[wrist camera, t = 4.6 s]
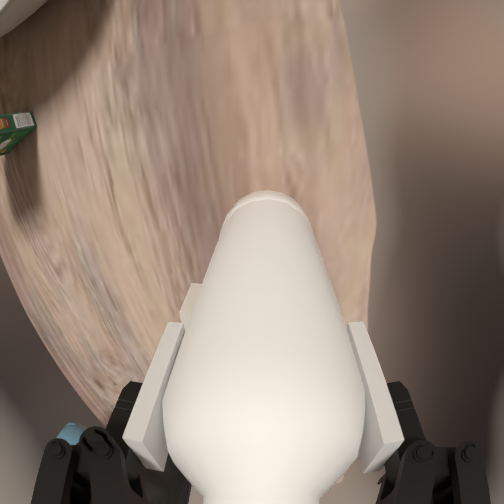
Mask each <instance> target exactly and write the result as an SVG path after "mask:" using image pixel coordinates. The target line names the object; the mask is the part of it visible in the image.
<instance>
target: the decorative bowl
mask: <svg viewBox="0 0 504 504" xmlns="http://www.w3.org/2000/svg"><path fill="white" fill-rule="evenodd" d="M48 1H49V0H0V37H2V36H3V35H5V34H7V33H8V32H10V31H11V30H13V29H14V28H15V27H17V26H18V25H19V24H21V23H22V22H23V21H25V20H26V19H27V18H28V17H30V16H31V15H32V14H33V13H34V12H35V11H36V10H37V9H39V8H40V7H41V6H42V5H44V4H45V3H46V2H48Z"/></svg>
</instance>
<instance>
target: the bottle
mask: <svg viewBox="0 0 504 504" xmlns="http://www.w3.org/2000/svg"><path fill="white" fill-rule="evenodd" d="M162 409H163V424H164V431H165V437H166V444H167V450H168V452H169V455H170V457H171V459H172V461H173V463H174V464H175V465H176V466H177V468H178V469H179V470H180V471H181V473H182V474H183V475H184V476H185V477H186V479H187V480H188V481H189V482H190V483H191V484H192V485H193V487H194V488H195V489H196V490H197V491H198V492H199V493H200V494H201V496H202V497H203V498H204V499H203V504H320V503H319V499H320V498H321V497H322V496H323V495H324V494H325V493H326V492H327V491H328V490H329V489H330V488H331V487H332V486H333V484H335V483H336V481H337V480H338V479H339V478H340V477H341V476H342V475H343V474H344V473H345V472H346V470H347V469H348V468H349V467H350V466H351V464H352V463H353V462H354V461H355V459H356V458H357V456H358V452H359V448H360V444H361V439H362V434H363V429H364V421H365V411H366V403H365V391H364V386H363V382H362V379H361V375H360V372H359V369H358V365H357V362H356V358H355V355H354V352H353V348H352V345H351V342H350V339H349V336H348V332H347V329H346V326H345V323H344V320H343V317H342V314H341V311H340V308H339V305H338V302H337V299H336V296H335V293H334V290H333V287H332V284H331V281H330V278H329V276H328V273H327V270H326V267H325V264H324V262H323V259H322V256H321V253H320V251H319V248H318V245H317V243H316V240H315V237H314V235H313V232H312V228H311V224H310V221H309V219H308V217H307V216H306V214H305V212H304V211H303V210H302V208H301V207H300V205H299V204H298V203H297V201H295V200H294V199H292V198H290V197H289V196H287V195H286V194H284V193H280V192H276V191H271V190H264V191H256V192H252V193H250V194H248V195H246V196H244V197H242V198H240V199H239V200H238V202H237V203H236V204H235V205H234V206H233V207H232V208H231V209H230V211H229V213H228V214H227V216H226V218H225V221H224V223H223V226H222V229H221V231H220V237H219V240H218V243H217V245H216V248H215V251H214V253H213V256H212V259H211V261H210V264H209V267H208V269H207V272H206V275H205V277H204V280H203V283H202V286H201V288H200V291H199V294H198V297H197V299H196V302H195V305H194V308H193V311H192V313H191V316H190V319H189V322H188V325H187V328H186V331H185V333H184V336H183V339H182V342H181V345H180V348H179V351H178V354H177V357H176V360H175V363H174V366H173V369H172V372H171V375H170V378H169V381H168V384H167V387H166V390H165V393H164V396H163V400H162Z"/></svg>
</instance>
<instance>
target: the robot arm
mask: <svg viewBox="0 0 504 504" xmlns="http://www.w3.org/2000/svg"><path fill="white" fill-rule="evenodd" d="M347 332H348V336H349V339H350V342H351V345H352V348H353V352H354V355H355V358H356V362H357V365H358V369H359V372H360V375H361V379H362V382H363V386H364V391H365V403H366V411H365V421H364V429H363V434H362V439H361V444H360V448H359V457H360V463H361V469H362V473H369V472H374V471H379V470H381V469H382V467H383V466H384V465H385V470H386V473H385V474H384V475H383V476H382V477H381V478H380V480H379V482H378V483H377V484H380V483H381V482H382V484H381V487H380V491H379V495H378V498H377V501H376V504H491V503H490V495H489V488H488V482H487V476H486V470H485V465H484V461H483V456H482V452H481V449H480V447H479V446H478V445H477V444H476V443H475V442H472V441H465V442H462V443H461V444H460V445H459V446H458V447H457V448H450V447H449V448H447V447H436V446H434V445H433V444H432V443H430V442H429V441H427V440H426V438H425V436H424V434H423V431H422V428H421V425H420V422H419V419H418V416H417V414H416V411H415V409H414V406H413V403H412V401H411V398H410V395H409V392H408V390H407V388H405V386H404V385H403V384H402V383H401V382H400V381H398V382H392V383H386V381H385V378H384V375H383V373H382V370H381V367H380V364H379V362H378V359H377V356H376V353H375V351H374V348H373V345H372V343H371V340H370V337H369V335H368V332H367V330H366V327H365V325H364V322H348V326H347ZM184 333H185V328H184V324H183V323H177V322H168V324H167V326H166V329H165V331H164V333H163V336H162V338H161V340H160V343H159V345H158V348H157V350H156V352H155V355H154V357H153V360H152V362H151V364H150V367H149V369H148V372H147V374H146V377H145V379H144V382H143V383H139V382H132V381H130V382H129V383H128V384H127V385H126V386H125V387H124V388H123V389H122V391H121V394H120V396H119V398H118V399H119V400H118V401H117V403H116V405H115V408H114V410H113V412H112V415H111V417H110V419H109V422H108V424H107V427H106V429H104V428H102V427H95V426H94V427H90V428H86V427H84V426H82V425H80V424H79V423H76V422H71V423H68V424H67V425H66V426H65V427H64V428H63V430H62V431H61V432H60V434H59V435H58V436H57V438H56V439H53V440H51V441H50V442H49V443H48V444H47V445H46V448H45V450H44V454H43V457H42V461H41V464H40V468H39V472H38V475H37V479H36V483H35V487H34V492H33V496H32V501H31V504H188V502H189V496H190V491H191V485H192V484H191V483H190V482H189V481H188V480H187V479H186V477H185V476H184V475H183V474H182V473H181V471H180V470H179V469H178V468H177V466H176V465H175V464H174V463H173V461H172V459H171V457H170V455H169V452H168V450H167V444H166V437H165V431H164V424H163V409H162V400H163V396H164V393H165V390H166V387H167V384H168V381H169V378H170V375H171V372H172V369H173V366H174V363H175V360H176V357H177V354H178V351H179V348H180V345H181V342H182V339H183V336H184Z"/></svg>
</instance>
